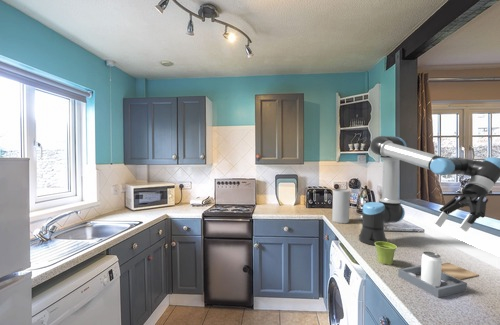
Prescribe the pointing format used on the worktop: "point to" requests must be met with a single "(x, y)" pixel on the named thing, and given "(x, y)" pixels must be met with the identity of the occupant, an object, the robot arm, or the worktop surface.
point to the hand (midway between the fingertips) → (449, 226)
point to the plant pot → (385, 252)
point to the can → (431, 268)
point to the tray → (451, 288)
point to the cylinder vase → (341, 206)
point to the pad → (457, 271)
